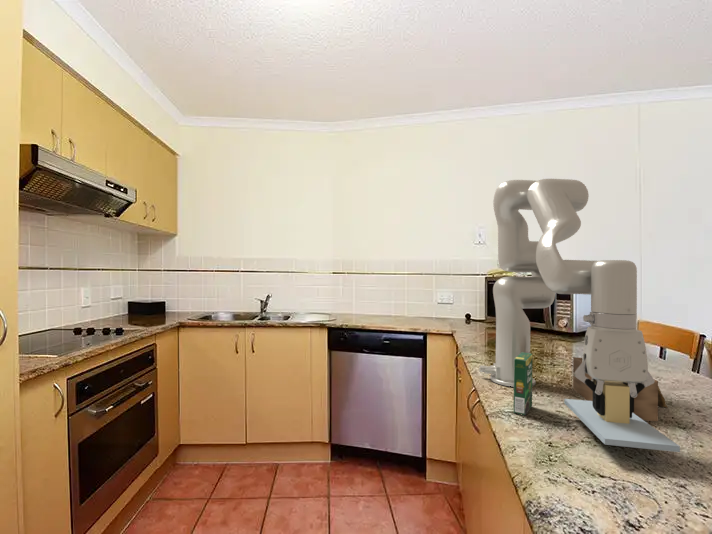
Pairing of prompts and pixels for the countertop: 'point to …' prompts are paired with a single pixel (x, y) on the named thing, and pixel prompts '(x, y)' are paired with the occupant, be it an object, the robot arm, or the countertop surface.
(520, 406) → the coffee box
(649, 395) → the crate
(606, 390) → the lid
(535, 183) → the robot arm
